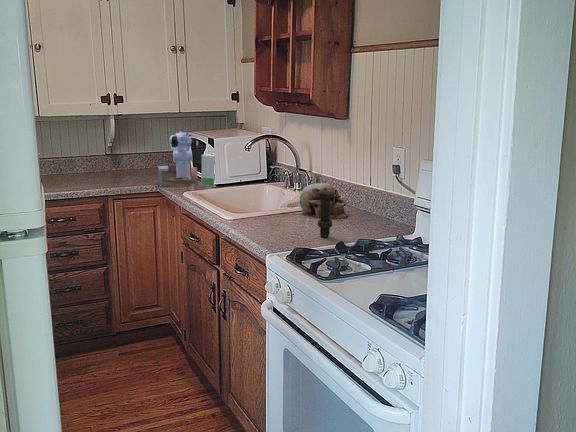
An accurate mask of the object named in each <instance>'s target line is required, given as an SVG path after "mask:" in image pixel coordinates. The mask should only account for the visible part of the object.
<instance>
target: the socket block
mask: <svg viewBox="0 0 576 432" xmlns="http://www.w3.org/2000/svg"><path fill="white" fill-rule="evenodd" d="M163 187H170V188H171V187H190V180H189V178H188V177H177V176H176V177H162V188H163Z"/></svg>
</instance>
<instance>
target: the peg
mask: <svg viewBox="0 0 576 432" xmlns="http://www.w3.org/2000/svg"><path fill="white" fill-rule="evenodd" d="M190 177H191V180H190V181H191V184H192V185H194V184H195V185H196V184H198V167H195V166H193V167H190Z"/></svg>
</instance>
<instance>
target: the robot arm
mask: <svg viewBox="0 0 576 432" xmlns="http://www.w3.org/2000/svg"><path fill="white" fill-rule="evenodd" d="M168 143H169V146H170V148H171V150H173V151H172V159H173V162H174V163H175V172H176V177H188V178H189V181H191V165H190V164H191V163H192V162H193V151H192V150H195V149H196V147H198V146H199V141H198V140H197V138H196V137H191V138H190V137H189V134H188V132H183V131H178V132H175V134H172V135H170V136H169V140H168ZM188 148H190V149H188Z"/></svg>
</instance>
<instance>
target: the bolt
mask: <svg viewBox="0 0 576 432" xmlns="http://www.w3.org/2000/svg"><path fill="white" fill-rule="evenodd" d="M317 196H318V197H319V198H320V218H319V220H318V221H317V226H318V227H319V230H320V231H319V234H320V235H319V236H320V237H321V238H322V239H324V238H325V237H326V238H328V237H329V236H330V229H331V228H332V227H333V220H331V219H330V202H331V198H332V197H334V192H332V191H319V192H317Z"/></svg>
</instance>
